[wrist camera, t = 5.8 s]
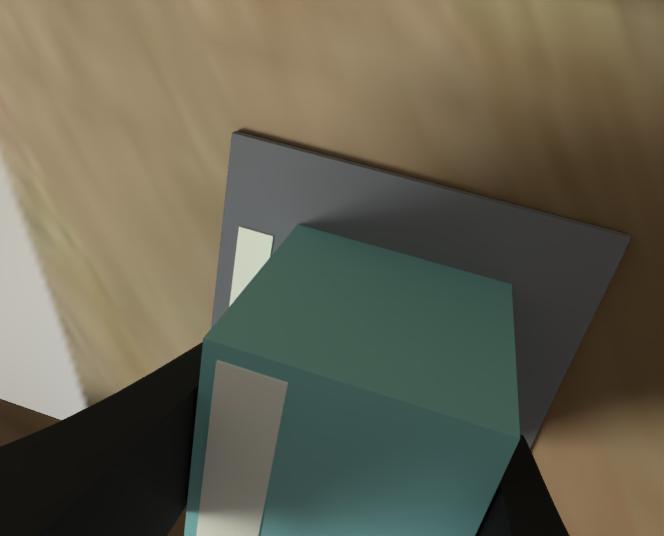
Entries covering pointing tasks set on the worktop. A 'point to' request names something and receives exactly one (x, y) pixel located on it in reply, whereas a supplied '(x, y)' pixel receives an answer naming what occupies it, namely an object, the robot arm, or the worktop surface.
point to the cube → (354, 397)
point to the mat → (425, 246)
